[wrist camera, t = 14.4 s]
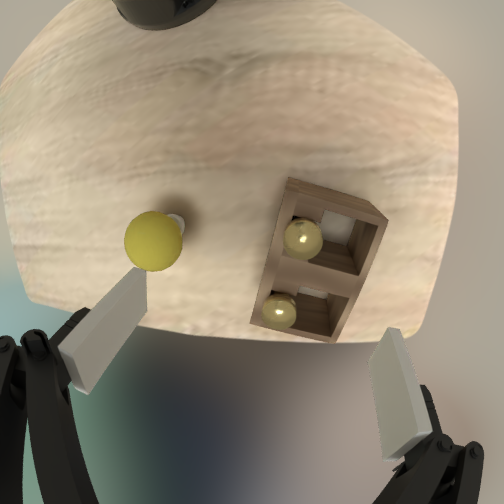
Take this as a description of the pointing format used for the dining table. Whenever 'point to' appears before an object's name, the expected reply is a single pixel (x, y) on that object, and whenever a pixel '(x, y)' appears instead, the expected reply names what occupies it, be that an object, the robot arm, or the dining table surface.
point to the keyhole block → (321, 261)
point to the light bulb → (154, 240)
